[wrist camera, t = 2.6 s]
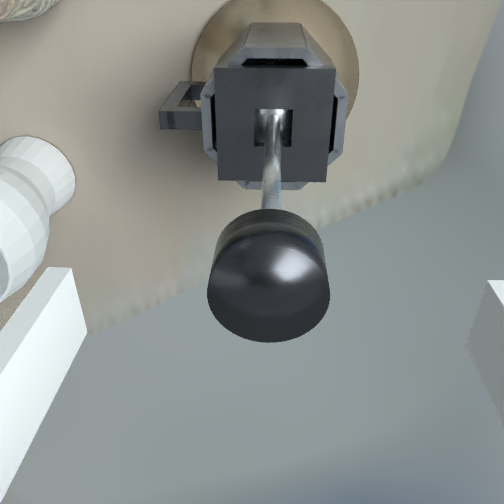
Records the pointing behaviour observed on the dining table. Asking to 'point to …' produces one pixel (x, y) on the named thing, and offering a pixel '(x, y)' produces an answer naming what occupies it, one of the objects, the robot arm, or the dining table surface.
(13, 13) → the carving
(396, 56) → the dining table surface
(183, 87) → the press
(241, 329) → the black knob on rod
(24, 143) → the cup
